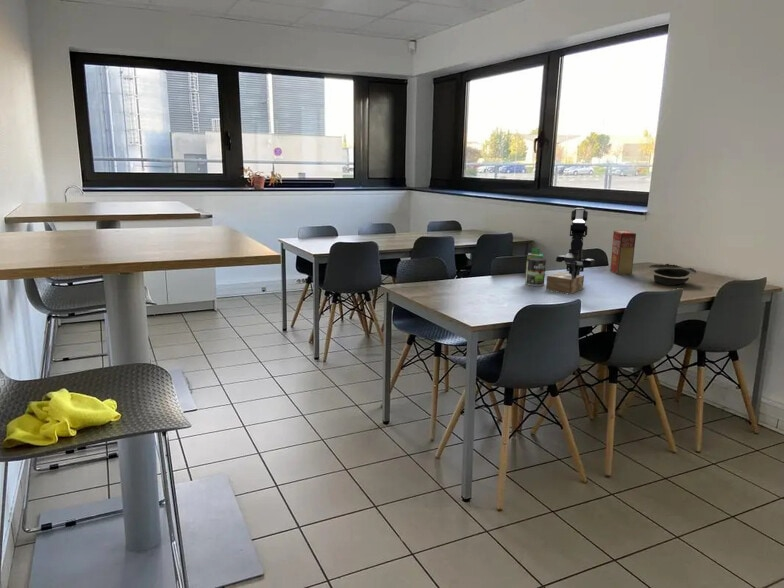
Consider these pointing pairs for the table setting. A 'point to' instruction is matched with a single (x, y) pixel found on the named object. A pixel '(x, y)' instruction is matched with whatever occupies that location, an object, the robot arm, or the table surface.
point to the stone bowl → (671, 274)
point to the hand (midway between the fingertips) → (573, 277)
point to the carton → (559, 282)
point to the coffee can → (535, 271)
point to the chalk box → (535, 254)
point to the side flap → (576, 283)
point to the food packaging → (622, 252)
